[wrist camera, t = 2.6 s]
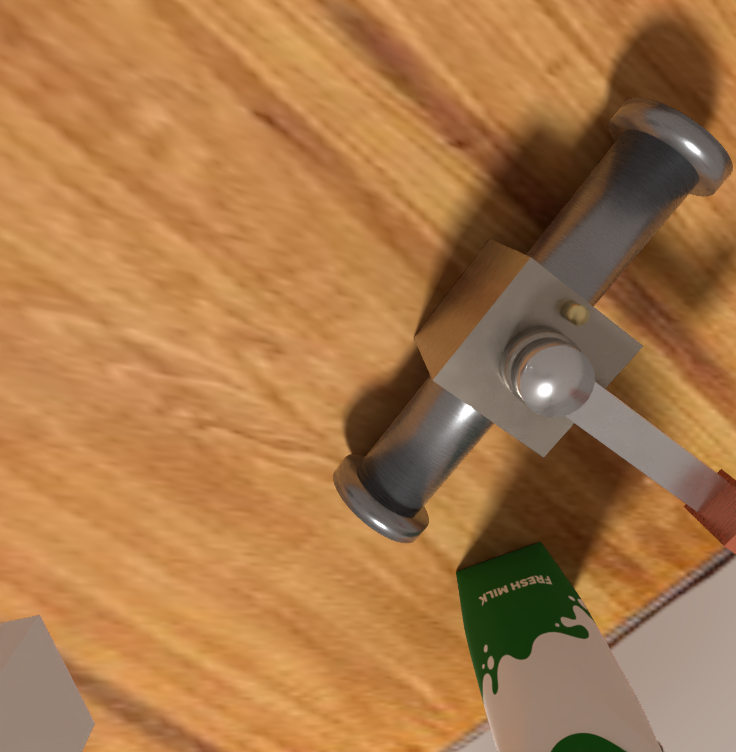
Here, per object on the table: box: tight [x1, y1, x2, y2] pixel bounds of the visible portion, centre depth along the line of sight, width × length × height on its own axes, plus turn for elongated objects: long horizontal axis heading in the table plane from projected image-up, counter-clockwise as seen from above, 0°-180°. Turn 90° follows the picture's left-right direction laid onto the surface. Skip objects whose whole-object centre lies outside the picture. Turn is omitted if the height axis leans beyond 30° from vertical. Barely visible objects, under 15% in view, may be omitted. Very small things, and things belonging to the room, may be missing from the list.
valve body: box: [333, 98, 733, 543], centre depth 35 cm, size 28×8×10 cm, turn 144°
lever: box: [511, 337, 736, 554], centre depth 30 cm, size 15×4×4 cm, turn 54°
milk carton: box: [456, 542, 664, 752], centre depth 37 cm, size 9×9×20 cm
